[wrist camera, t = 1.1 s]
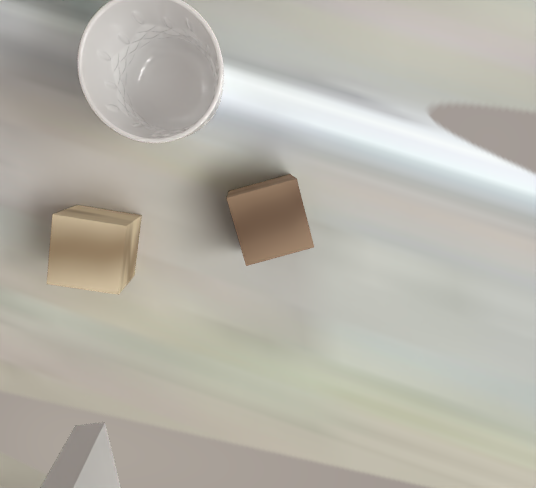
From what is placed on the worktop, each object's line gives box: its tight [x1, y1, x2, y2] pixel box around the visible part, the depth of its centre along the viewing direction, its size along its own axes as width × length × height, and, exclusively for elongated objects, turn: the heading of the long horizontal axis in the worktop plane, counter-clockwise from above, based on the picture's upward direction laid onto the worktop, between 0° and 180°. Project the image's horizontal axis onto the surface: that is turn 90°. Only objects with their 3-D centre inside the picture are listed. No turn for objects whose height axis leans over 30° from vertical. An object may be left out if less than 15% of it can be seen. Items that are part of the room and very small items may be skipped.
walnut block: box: [227, 174, 314, 266], centre depth 36 cm, size 5×5×5 cm
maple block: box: [47, 205, 142, 295], centre depth 35 cm, size 5×5×5 cm
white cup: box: [77, 0, 223, 143], centre depth 31 cm, size 8×8×10 cm
